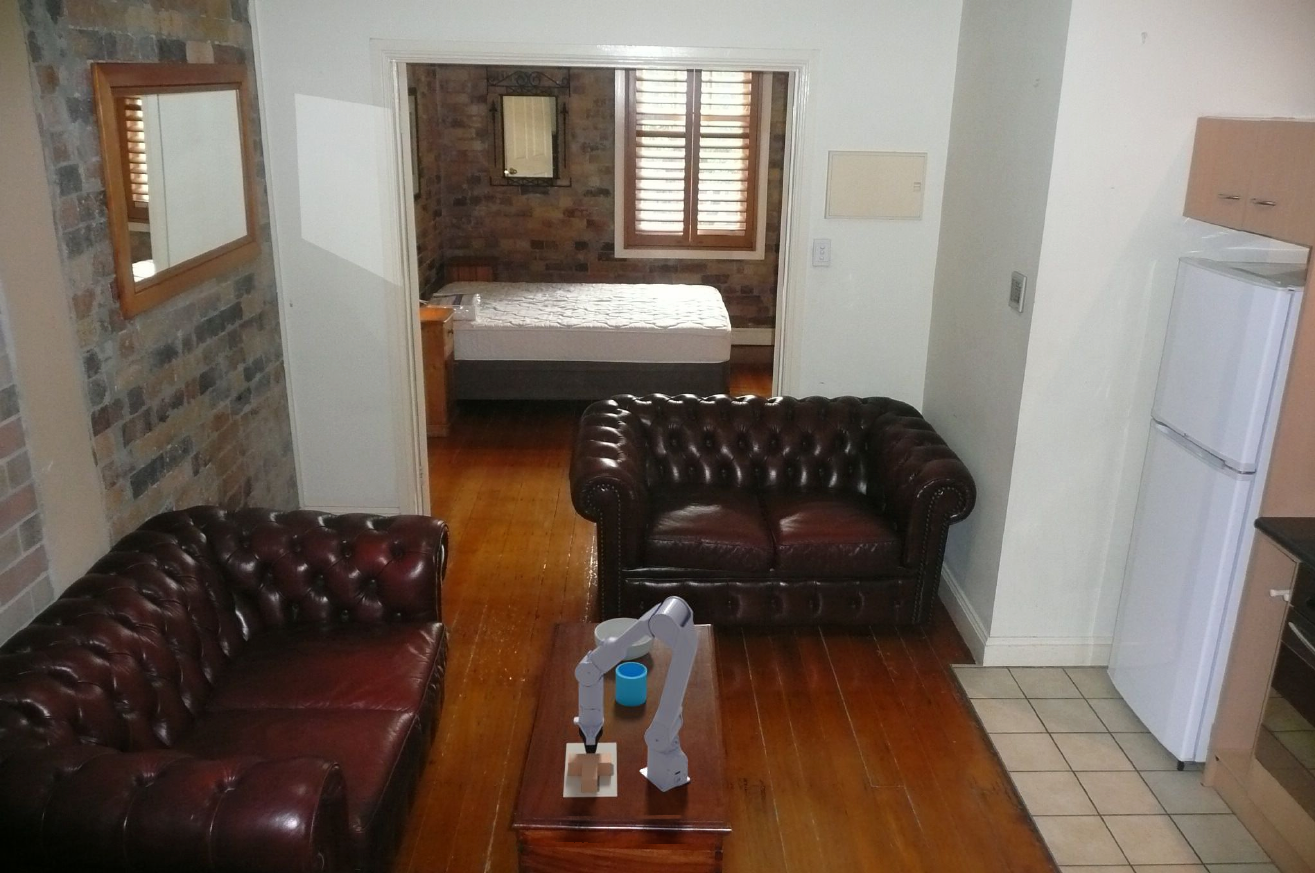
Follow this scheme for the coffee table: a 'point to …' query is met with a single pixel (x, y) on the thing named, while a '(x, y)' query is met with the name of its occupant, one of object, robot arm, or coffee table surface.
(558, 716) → the coffee table surface
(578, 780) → the push mat
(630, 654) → the cereal bowl
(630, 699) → the mug
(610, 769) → the t block
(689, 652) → the robot arm
